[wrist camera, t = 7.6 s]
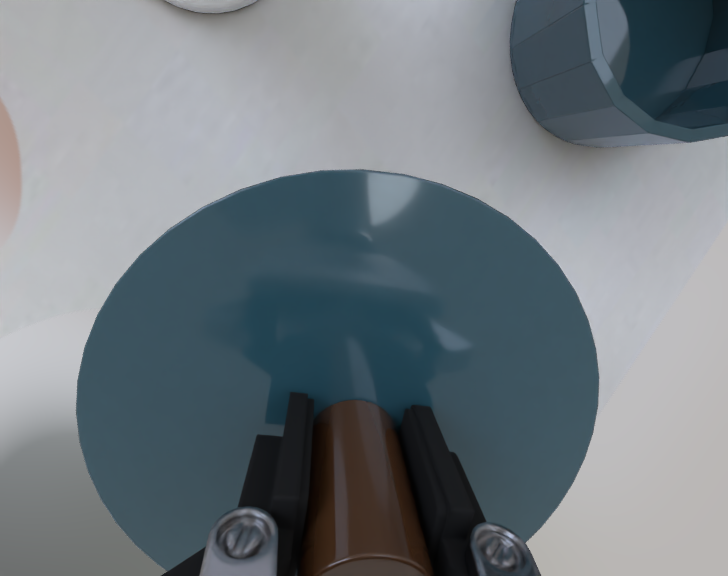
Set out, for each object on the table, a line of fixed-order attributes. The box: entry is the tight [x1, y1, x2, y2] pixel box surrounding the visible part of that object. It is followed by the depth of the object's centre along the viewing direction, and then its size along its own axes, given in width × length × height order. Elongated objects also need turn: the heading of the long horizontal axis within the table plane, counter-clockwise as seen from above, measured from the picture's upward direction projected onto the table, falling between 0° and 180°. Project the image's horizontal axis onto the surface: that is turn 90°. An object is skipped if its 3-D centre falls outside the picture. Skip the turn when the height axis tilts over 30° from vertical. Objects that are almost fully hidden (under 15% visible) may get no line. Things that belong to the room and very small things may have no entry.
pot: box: [510, 0, 728, 148], centre depth 24 cm, size 15×20×8 cm
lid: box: [76, 169, 599, 576], centre depth 10 cm, size 16×16×6 cm
